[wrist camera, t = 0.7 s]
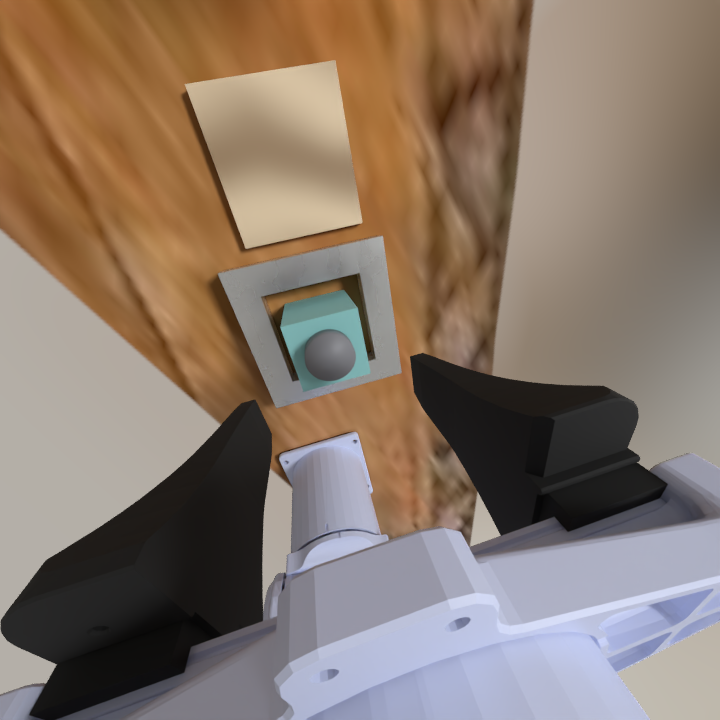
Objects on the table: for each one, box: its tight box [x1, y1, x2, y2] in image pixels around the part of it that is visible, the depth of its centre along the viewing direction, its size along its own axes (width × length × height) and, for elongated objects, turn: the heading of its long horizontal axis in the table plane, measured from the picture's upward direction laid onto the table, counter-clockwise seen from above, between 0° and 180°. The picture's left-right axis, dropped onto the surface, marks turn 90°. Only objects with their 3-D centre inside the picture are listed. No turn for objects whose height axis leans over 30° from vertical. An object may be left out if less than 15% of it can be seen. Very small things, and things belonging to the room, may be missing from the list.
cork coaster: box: [185, 60, 362, 249], centre depth 16 cm, size 8×8×1 cm
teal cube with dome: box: [280, 290, 371, 392], centre depth 18 cm, size 5×5×6 cm
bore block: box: [218, 236, 401, 408], centre depth 20 cm, size 11×11×2 cm
